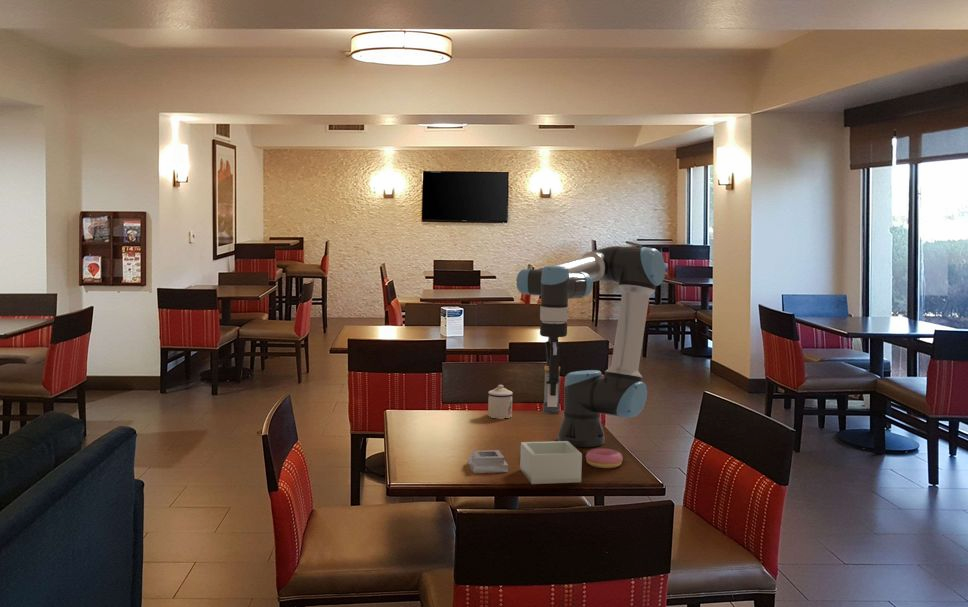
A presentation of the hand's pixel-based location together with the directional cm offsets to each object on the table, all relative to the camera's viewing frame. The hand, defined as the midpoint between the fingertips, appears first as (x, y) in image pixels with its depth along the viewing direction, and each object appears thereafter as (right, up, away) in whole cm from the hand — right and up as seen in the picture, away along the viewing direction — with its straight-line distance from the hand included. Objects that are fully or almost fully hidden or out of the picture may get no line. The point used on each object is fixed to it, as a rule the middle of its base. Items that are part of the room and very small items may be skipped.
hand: (551, 404), depth 251 cm
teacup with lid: (-13, -13, +75) cm, 78 cm away
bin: (0, -20, +2) cm, 20 cm away
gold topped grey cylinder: (0, -2, 0) cm, 2 cm away
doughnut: (+17, -20, +15) cm, 30 cm away
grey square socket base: (-18, -19, +9) cm, 28 cm away
